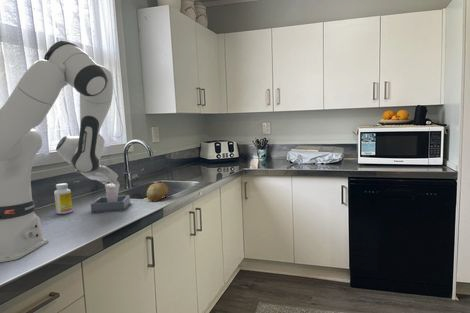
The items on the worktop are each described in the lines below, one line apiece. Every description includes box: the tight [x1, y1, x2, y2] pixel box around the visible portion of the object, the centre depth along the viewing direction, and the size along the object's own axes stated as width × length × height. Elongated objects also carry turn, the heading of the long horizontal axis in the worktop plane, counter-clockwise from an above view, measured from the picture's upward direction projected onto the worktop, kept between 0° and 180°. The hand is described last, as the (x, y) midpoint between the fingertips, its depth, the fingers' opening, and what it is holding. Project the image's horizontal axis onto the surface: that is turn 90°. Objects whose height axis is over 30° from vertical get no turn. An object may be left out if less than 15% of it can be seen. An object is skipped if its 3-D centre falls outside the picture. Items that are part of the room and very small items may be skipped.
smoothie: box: [104, 182, 121, 202], centre depth 158 cm, size 6×6×14 cm
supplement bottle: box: [53, 182, 74, 215], centre depth 155 cm, size 7×7×13 cm
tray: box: [90, 194, 131, 214], centre depth 159 cm, size 14×14×4 cm
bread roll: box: [146, 182, 169, 202], centre depth 175 cm, size 10×15×8 cm, turn 172°
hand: (111, 183), depth 159 cm, fingers open, 8 cm apart
